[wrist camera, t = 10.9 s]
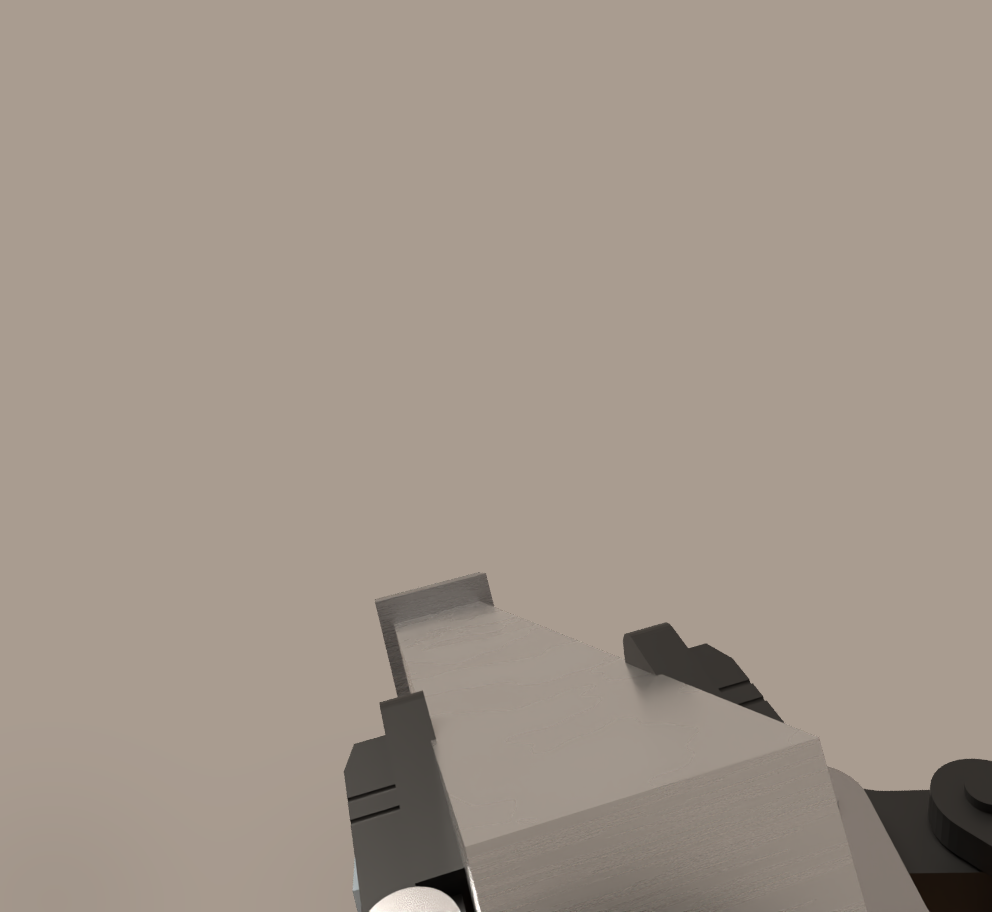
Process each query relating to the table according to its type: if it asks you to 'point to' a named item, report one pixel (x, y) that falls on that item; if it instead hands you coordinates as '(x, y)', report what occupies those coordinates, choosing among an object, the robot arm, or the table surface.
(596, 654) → the shaft
